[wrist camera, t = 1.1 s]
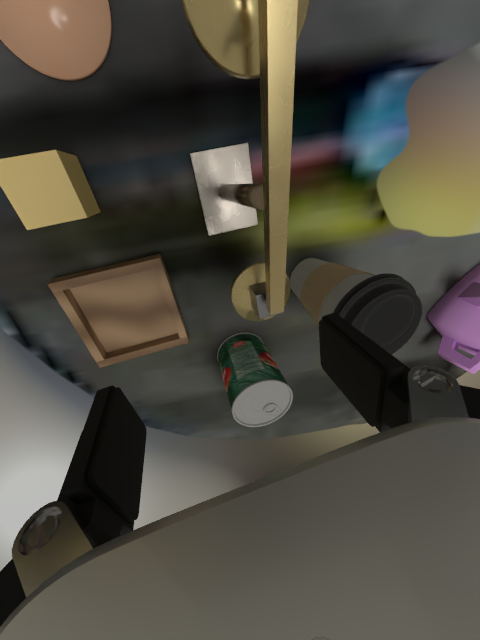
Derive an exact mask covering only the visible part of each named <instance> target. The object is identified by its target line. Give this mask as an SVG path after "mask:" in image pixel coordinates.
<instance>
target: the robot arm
mask: <svg viewBox="0 0 480 640" xmlns="http://www.w3.org/2000/svg"><path fill="white" fill-rule="evenodd" d="M319 337H320V358H321V366H322V368H323V370H324V371H325V372H326V373H327V375H328V376H329V377H330V378H331V379H332V381H333V382H334V383H335V384H336V385H337V387H338V388H339V389H340V390H341V391H342V392H343V394H344V395H345V396H346V397H347V398H348V400H349V401H350V402H351V403H352V404H353V406H354V407H355V408H356V409H357V410H358V412H359V413H360V414H361V415H362V416H363V418H364V419H365V420H366V421H367V422H368V424H370V425H371V426H372V427H374V426H375V427H376V428H377V429H378V430H379V432H380V433H378V434H376V435H373V436H370V437H367V438H364V439H362V440H359V441H356V442H354V443H351V444H349V445H346V446H344V447H341V448H338V449H336V450H333V451H331V452H328V453H326V454H323V455H320V456H318V457H315V458H313V459H310V460H308V461H305V462H303V463H300V464H297V465H295V466H292V467H290V468H287V469H285V470H282V471H280V472H277V473H275V474H272V475H270V476H267V477H265V478H262V479H260V480H257V481H255V482H252V483H249V484H247V485H244V486H242V487H239V488H237V489H234V490H232V491H230V492H227V493H224V494H222V495H220V496H217V497H215V498H212V499H209V500H207V501H204V502H202V503H199V504H197V505H194V506H192V507H189V508H187V509H184V510H182V511H179V512H177V513H174V514H172V515H170V516H167V517H164V518H162V519H160V520H157V521H155V522H152V523H150V524H148V525H145V526H143V527H141V528H138V529H136V530H133V525H134V520H136V519H137V518H138V514H139V504H140V494H141V484H142V474H143V463H144V453H145V443H146V427H145V425H144V423H143V422H142V420H141V419H140V417H139V416H138V414H137V413H136V411H135V410H134V408H133V407H132V405H131V404H130V402H129V401H128V399H127V398H126V396H125V395H124V393H123V392H122V391H121V389H120V388H119V387H117V388H115V387H114V386H109V387H106V388H103V389H100V390H98V391H97V393H96V396H95V398H94V401H93V404H92V407H91V410H90V413H89V415H88V418H87V421H86V424H85V426H84V429H83V431H82V433H81V436H80V439H79V441H78V444H77V447H76V450H75V453H74V455H73V458H72V461H71V464H70V467H69V469H68V472H67V475H66V478H65V480H64V483H63V486H62V489H61V492H60V494H59V497H58V500H57V501H54V502H51V503H48V504H46V505H45V506H43V507H42V508H40V509H39V510H38V511H36V512H35V513H34V514H33V515H32V516H31V517H30V518H29V519H28V520H27V521H26V522H25V524H24V525H23V527H22V528H21V530H20V531H19V533H18V535H17V537H16V539H15V541H14V544H13V548H12V558H13V559H12V560H11V561H10V562H9V563H8V564H7V565H6V566H5V567H4V568H3V569H2V570H1V572H0V640H480V389H475V388H471V387H466V386H461V385H459V384H458V382H457V380H456V379H455V378H454V377H453V376H452V375H451V374H449V373H448V372H446V371H444V370H441V369H439V368H435V367H431V366H419V367H415V368H413V369H409V368H408V367H407V366H405V365H404V364H403V363H401V362H400V361H399V360H397V359H396V358H395V357H393V356H392V355H391V354H390V353H388V352H387V351H386V350H384V349H383V348H382V347H380V346H379V345H378V344H376V343H375V342H374V341H372V340H371V339H370V338H369V337H367V336H366V335H364V334H363V333H361V332H360V331H359V330H357V329H356V328H355V327H354V326H352V325H351V324H350V323H348V322H347V321H346V320H344V319H343V318H342V317H340V316H339V315H338V314H336V313H331V314H328V315H325V316H323V317H322V319H321V320H320V321H319Z"/></svg>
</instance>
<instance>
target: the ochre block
mask: <svg viewBox="0 0 480 640" xmlns="http://www.w3.org/2000/svg"><path fill="white" fill-rule="evenodd" d="M0 186H1V187H2V189H3V191H4V192H5V194H6V196H7V197H8V199H9V201H10V202H11V204H12V206H13V207H14V209H15V211H16V212H17V214H18V216H19V217H20V219H21V221H22V222H23V224H24V226H25V227H26V229H27V230H30V229H35V228H40V227H45V226H49V225H54V224H59V223H64V222H69V221H74V220H78V219H83V218H88V217H90V216H93V215H95V214H98V213H100V212H101V211H100V209H99V207H98V205H97V202H96V200H95V198H94V195H93V193H92V191H91V188H90V186H89V184H88V181H87V179H86V177H85V175H84V172H83V170H82V168H81V165H80V163H79V161H78V158H77V156H75V155H72V154H68V153H65V152H62V151H59V150H51V151H45V152H39V153H33V154H28V155H22V156H16V157H10V158H4V159H0Z"/></svg>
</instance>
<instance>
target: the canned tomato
mask: <svg viewBox="0 0 480 640" xmlns="http://www.w3.org/2000/svg"><path fill="white" fill-rule="evenodd" d="M217 359H218V363H219V366H220V369H221V373H222V377H223V380H224V384H225V388H226V391H227V395H228V399H229V402H230V406H231V409H232V415H233V417H234V419H235V420H236V421H237V422H238V423H240V424H241V425H244V426H247V427H260V426H264V425H268V424H270V423H272V422H274V421H276V420H278V419H279V418H280V417H282V416H283V415H284V414H285V413H286V412H287V410H288V409H289V408H290V406H291V403H292V399H293V394H292V391H291V389H290V387H289V386H288V384H287V383H286V381H285V379H284V377H283V375H282V374H281V372H280V370H279V369H278V367H277V365H276V364H275V362H274V360H273V359H272V357H271V355H270V353H269V352H268V350H267V348H266V347H265V345H264V343H263V341H262V340H261V338H260V337H258V336H257V335H255V334H253V333H249V332H240V333H236V334H234V335H231V336H230V337H228V338H227V339H225V340H224V341H223V342H222V344H221V345H220V347H219V349H218V352H217Z"/></svg>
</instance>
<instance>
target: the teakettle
mask: <svg viewBox="0 0 480 640" xmlns="http://www.w3.org/2000/svg"><path fill="white" fill-rule="evenodd" d="M427 317H428V319H429V321H430V322H431V324H432V325H433V326H434V327H435V329H436V330H437V331H438V332H439V333H440V334H441V335H442V339H441V343H440V347H439V350H438V354H439V355H440V356H441V357H442V358H443V359H445V360H447V361H449V362H451V363H453V364H455V365H457V366H459V367H461V368H463V369H464V370H466V371H468V372H470V373H472V374H474V373H475V372H477V371H478V370H479V369H480V264H478V265H477V266H476V267H474V268H473V269H472V270H471V271H470V272H468V273H467V274H466V275H465V276H464V277H463V278H462V279H460V280H459V281H458V282H457V283H456V284H455V285H454V286H453V287H452V288H451V289H450V290H449V291H448V292H447V293H446V294H445V295H444V296H443V297H442V298H441V299H440V300H439V301H438V302H437V303H436V304H435V306H434V307H433V308H432V309H431V310H430V312H429V313H428V315H427ZM458 348H460V349H462V350H464V351H466V352H468V353H470V354H473V355H475V356H474V357H473V358H472V359H471V360H470V359H469V358H467V357H465V356H464V355H462V354H460V353H459V352H457V349H458Z"/></svg>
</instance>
